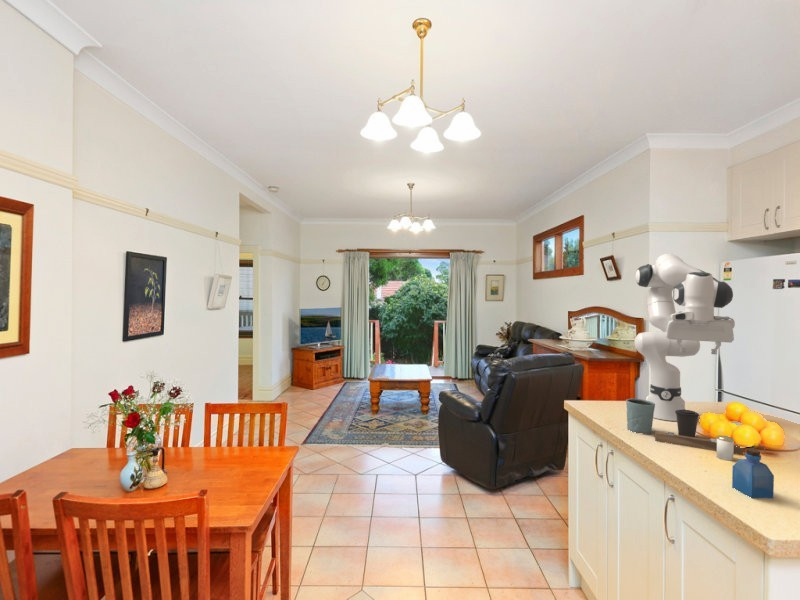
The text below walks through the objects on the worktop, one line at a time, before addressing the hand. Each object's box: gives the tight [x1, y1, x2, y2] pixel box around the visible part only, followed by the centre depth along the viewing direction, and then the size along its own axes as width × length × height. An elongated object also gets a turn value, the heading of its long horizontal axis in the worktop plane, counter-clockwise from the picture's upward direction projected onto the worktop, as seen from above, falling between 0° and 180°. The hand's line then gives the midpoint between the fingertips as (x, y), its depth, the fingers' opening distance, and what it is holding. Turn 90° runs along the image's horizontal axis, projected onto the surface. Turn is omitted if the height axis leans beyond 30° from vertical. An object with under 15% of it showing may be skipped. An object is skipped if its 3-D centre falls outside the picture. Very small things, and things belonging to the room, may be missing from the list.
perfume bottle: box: [731, 447, 775, 499], centre depth 115 cm, size 6×6×12 cm
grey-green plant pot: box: [625, 398, 655, 435], centre depth 168 cm, size 10×10×12 cm
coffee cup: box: [675, 409, 701, 438], centre depth 163 cm, size 8×8×10 cm
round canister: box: [716, 435, 734, 462], centre depth 140 cm, size 4×4×7 cm
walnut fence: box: [654, 431, 744, 456], centre depth 151 cm, size 2×26×4 cm, turn 60°
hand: (698, 353), depth 152 cm, fingers open, 8 cm apart
